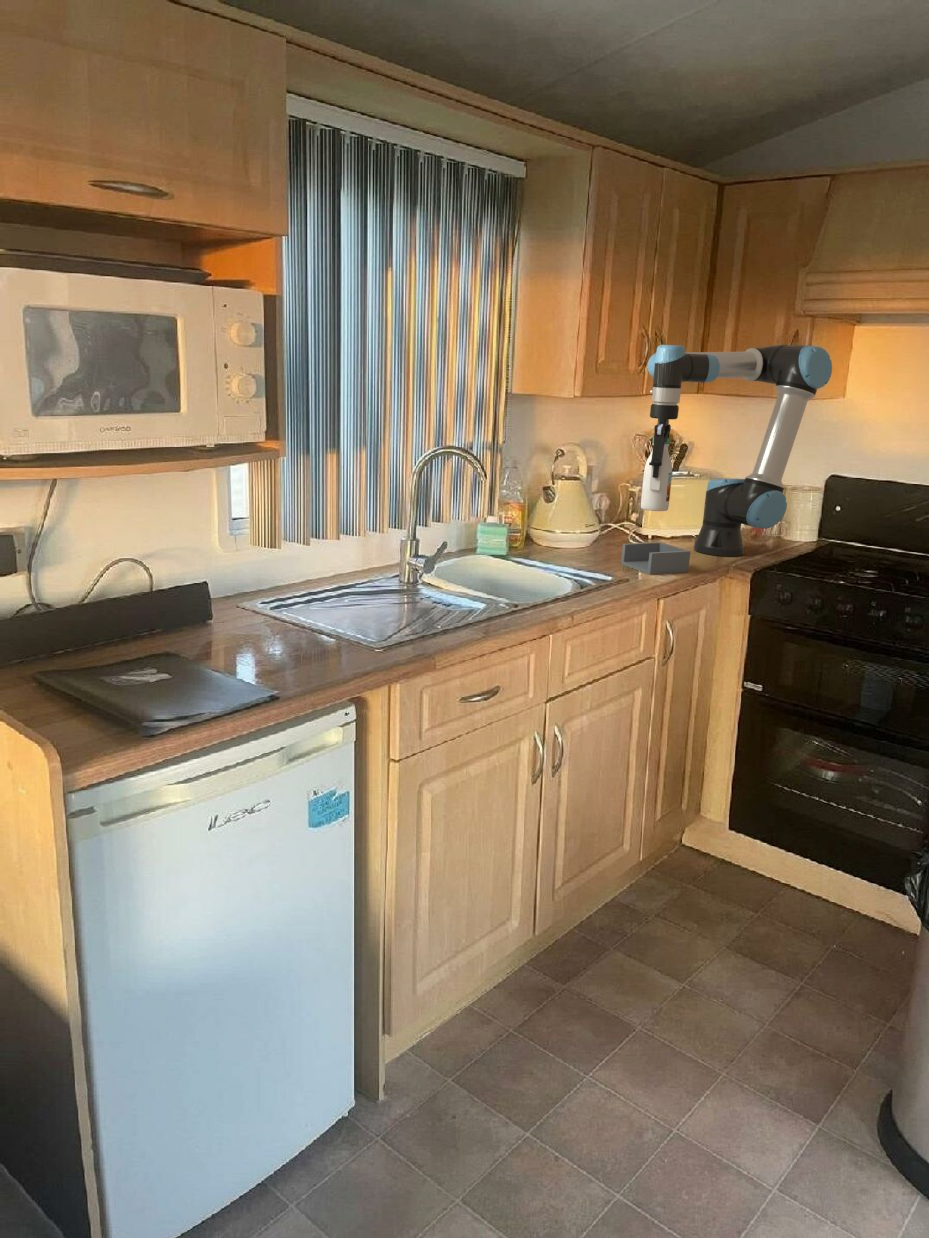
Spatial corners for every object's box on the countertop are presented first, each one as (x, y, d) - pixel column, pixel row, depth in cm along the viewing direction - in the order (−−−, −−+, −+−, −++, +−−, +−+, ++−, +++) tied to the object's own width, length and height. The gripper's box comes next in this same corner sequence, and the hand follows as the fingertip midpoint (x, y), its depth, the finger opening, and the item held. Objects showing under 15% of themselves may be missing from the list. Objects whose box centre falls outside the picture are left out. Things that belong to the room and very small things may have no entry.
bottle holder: (658, 562, 283) (660, 541, 281) (687, 572, 271) (690, 551, 270) (620, 564, 277) (622, 543, 275) (649, 574, 265) (652, 553, 264)
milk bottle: (660, 512, 265) (667, 439, 260) (635, 509, 270) (642, 436, 264) (673, 510, 271) (680, 438, 266) (648, 506, 276) (655, 435, 270)
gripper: (656, 401, 273) (648, 482, 279) (645, 404, 254) (637, 491, 260) (683, 403, 270) (674, 484, 277) (674, 406, 252) (665, 493, 258)
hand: (656, 487), depth 269 cm, fingers closed on milk bottle, 7 cm apart
